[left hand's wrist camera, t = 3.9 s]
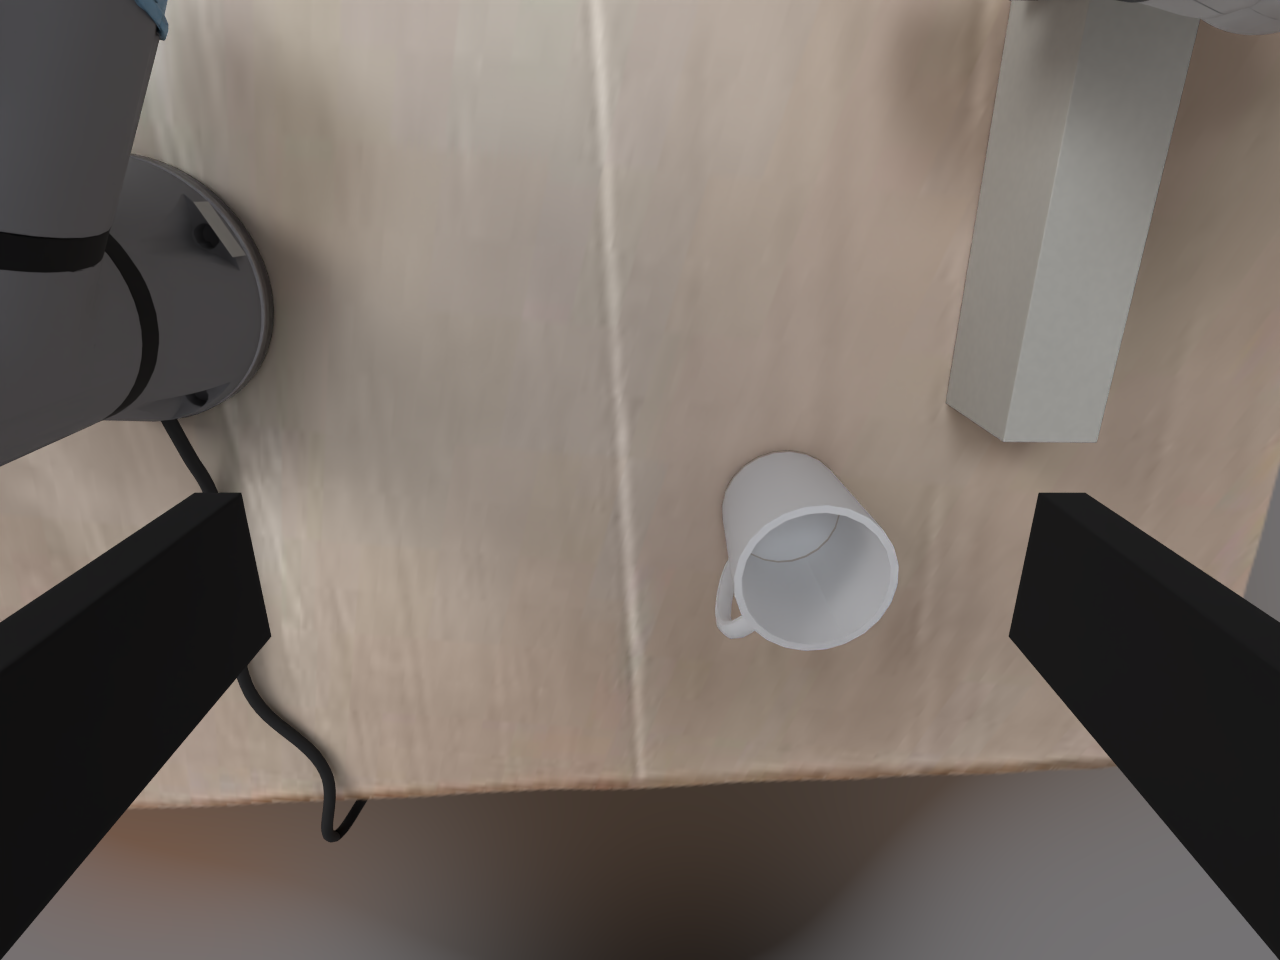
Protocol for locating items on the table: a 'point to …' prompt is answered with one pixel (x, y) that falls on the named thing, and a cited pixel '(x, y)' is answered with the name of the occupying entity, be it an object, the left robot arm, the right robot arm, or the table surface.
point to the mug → (801, 556)
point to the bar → (1065, 212)
